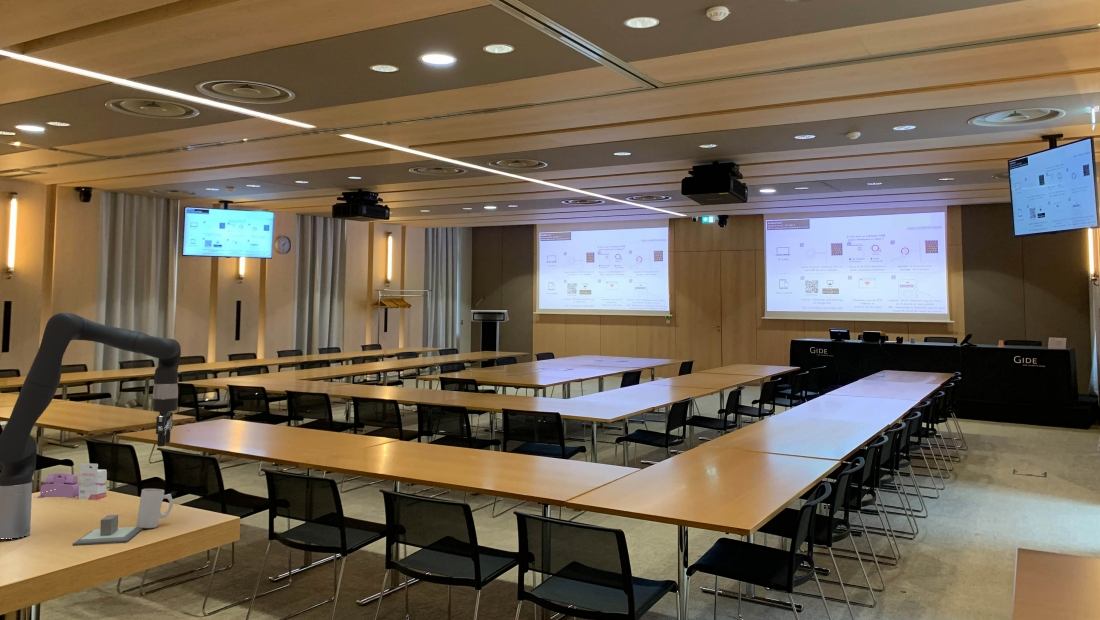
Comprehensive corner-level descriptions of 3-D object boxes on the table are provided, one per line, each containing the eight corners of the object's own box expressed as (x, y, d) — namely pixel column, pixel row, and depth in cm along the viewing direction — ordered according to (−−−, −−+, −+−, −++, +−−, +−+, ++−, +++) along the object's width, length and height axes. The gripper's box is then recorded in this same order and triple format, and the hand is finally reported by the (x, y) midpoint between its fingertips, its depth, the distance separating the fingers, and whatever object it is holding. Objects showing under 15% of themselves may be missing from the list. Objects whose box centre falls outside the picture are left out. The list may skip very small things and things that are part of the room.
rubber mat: (72, 545, 215) (72, 543, 215) (91, 532, 230) (92, 530, 230) (126, 542, 219) (126, 540, 219) (142, 529, 233) (142, 528, 233)
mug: (135, 528, 231) (141, 491, 233) (135, 524, 237) (141, 488, 239) (169, 528, 236) (175, 492, 238) (168, 524, 242) (174, 489, 244)
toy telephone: (83, 497, 282) (84, 471, 283) (71, 500, 276) (72, 475, 276) (43, 495, 284) (44, 471, 285) (30, 499, 278) (31, 473, 278)
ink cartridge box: (106, 499, 278) (108, 461, 279) (96, 502, 273) (98, 463, 274) (88, 498, 279) (89, 461, 280) (77, 501, 274) (78, 463, 275)
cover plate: (80, 541, 217) (80, 523, 217) (95, 531, 228) (95, 513, 229) (123, 539, 220) (123, 520, 220) (136, 529, 231) (136, 511, 232)
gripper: (157, 395, 246) (155, 442, 245) (148, 398, 232) (146, 448, 232) (181, 395, 248) (179, 441, 247) (173, 398, 235) (172, 447, 234)
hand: (163, 444), depth 239 cm, fingers open, 8 cm apart
